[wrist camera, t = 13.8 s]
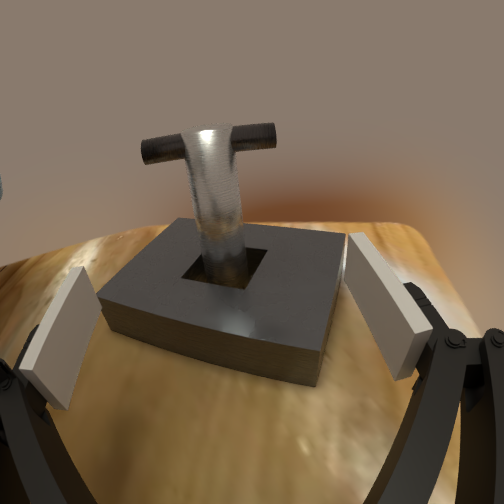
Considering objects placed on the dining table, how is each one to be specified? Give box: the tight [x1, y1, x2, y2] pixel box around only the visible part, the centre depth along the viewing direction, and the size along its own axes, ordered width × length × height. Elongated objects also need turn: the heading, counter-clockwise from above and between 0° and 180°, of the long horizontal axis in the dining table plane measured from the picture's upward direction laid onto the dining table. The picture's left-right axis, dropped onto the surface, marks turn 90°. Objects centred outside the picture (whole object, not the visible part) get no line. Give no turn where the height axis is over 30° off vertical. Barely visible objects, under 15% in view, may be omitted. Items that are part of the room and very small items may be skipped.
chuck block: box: [96, 218, 346, 387], centre depth 26 cm, size 18×14×4 cm
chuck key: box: [141, 123, 277, 290], centre depth 23 cm, size 9×4×15 cm, turn 95°
